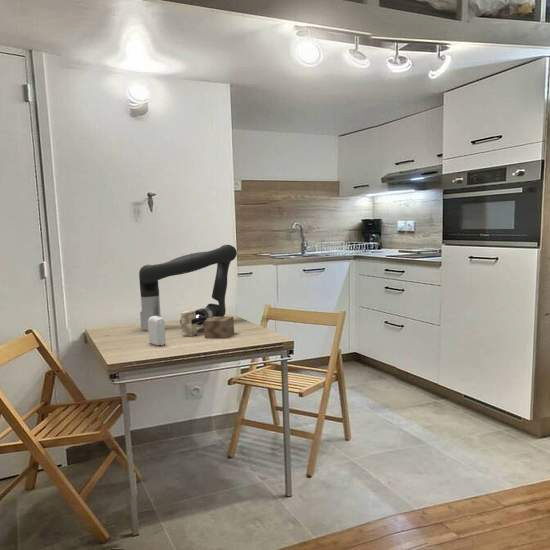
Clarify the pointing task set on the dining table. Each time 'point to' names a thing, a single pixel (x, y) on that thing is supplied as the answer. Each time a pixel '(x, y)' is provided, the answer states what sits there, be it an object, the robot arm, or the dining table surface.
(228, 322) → the walnut block
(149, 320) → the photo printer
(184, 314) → the maple block
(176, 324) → the dining table surface
